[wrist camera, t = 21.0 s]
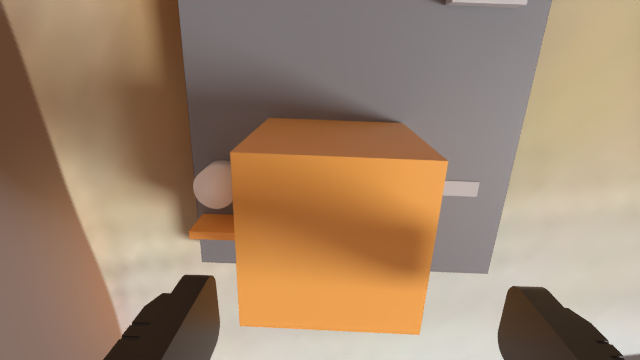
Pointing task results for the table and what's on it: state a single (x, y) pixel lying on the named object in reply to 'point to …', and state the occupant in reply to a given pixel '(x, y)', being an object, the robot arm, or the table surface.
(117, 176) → the table surface
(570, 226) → the table surface
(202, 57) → the breaker panel
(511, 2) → the untagged breaker
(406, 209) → the orange block
